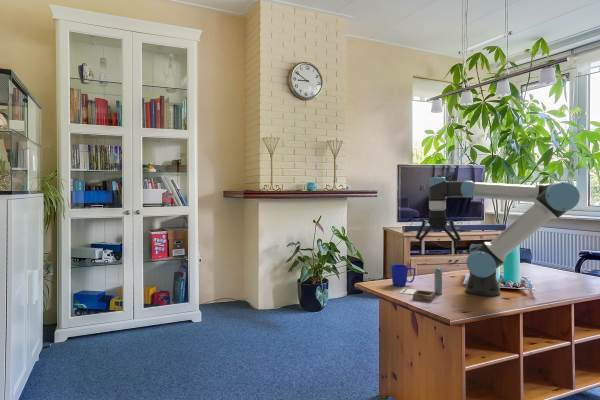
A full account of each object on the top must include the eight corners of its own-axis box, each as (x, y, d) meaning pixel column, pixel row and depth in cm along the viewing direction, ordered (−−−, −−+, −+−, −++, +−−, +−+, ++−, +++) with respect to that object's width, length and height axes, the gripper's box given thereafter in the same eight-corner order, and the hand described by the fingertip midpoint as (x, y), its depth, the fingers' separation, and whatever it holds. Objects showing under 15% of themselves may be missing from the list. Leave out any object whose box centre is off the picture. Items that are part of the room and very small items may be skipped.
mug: (415, 287, 199) (416, 268, 199) (391, 286, 202) (391, 267, 202) (414, 284, 207) (414, 265, 207) (390, 283, 210) (391, 264, 210)
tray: (434, 297, 180) (435, 292, 180) (431, 302, 173) (431, 296, 173) (417, 295, 184) (417, 289, 184) (412, 299, 177) (413, 293, 177)
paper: (433, 292, 190) (433, 291, 190) (429, 296, 182) (429, 296, 182) (404, 289, 197) (404, 288, 197) (399, 293, 189) (399, 292, 189)
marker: (442, 293, 188) (442, 268, 188) (441, 295, 185) (441, 269, 185) (435, 292, 190) (435, 267, 189) (433, 294, 187) (433, 269, 186)
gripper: (466, 209, 184) (467, 255, 184) (412, 209, 196) (413, 252, 197) (465, 210, 178) (465, 257, 178) (408, 210, 190) (409, 254, 190)
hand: (437, 254), depth 187 cm, fingers open, 13 cm apart
